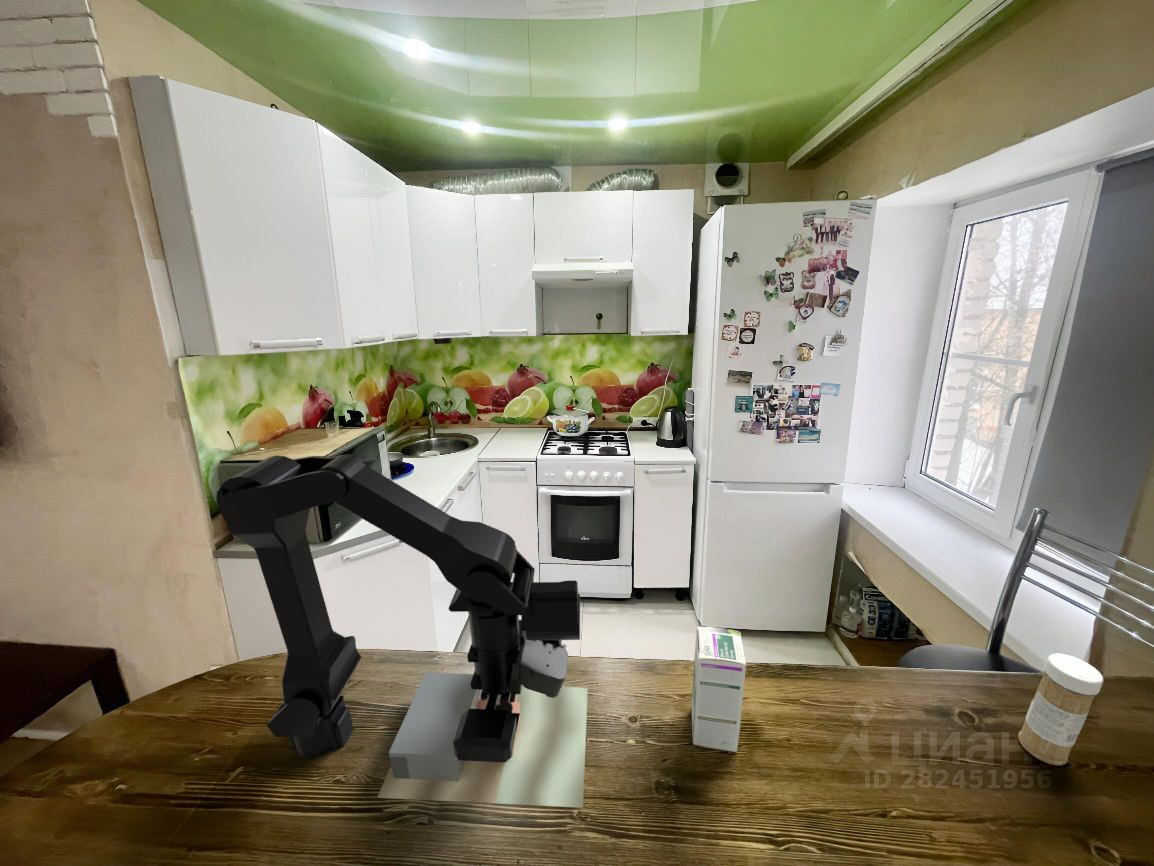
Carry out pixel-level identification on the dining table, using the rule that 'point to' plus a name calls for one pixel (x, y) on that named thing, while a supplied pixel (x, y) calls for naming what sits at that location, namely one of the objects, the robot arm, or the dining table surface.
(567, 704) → the board
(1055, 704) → the sprinkles bottle
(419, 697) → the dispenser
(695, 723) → the syrup box
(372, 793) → the dining table surface
